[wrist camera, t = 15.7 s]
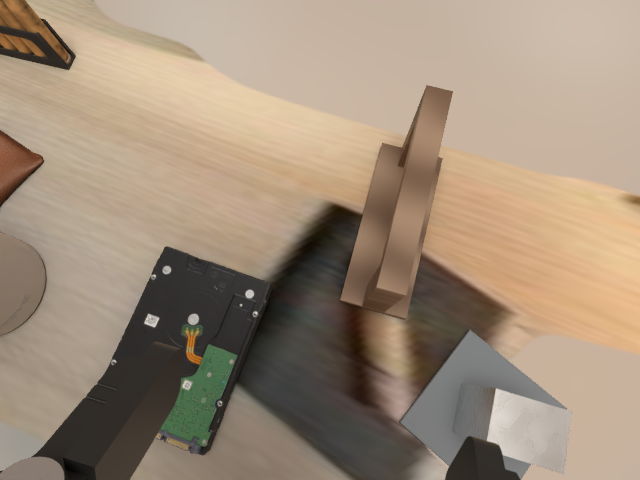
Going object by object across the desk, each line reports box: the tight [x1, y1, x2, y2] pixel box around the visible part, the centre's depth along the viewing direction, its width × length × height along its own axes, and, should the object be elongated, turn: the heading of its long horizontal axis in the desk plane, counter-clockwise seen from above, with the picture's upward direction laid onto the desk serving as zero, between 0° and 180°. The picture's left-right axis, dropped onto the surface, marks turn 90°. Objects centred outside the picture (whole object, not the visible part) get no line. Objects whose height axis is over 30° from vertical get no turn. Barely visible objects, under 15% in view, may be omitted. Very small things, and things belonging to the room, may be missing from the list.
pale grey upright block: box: [452, 383, 572, 474], centre depth 33 cm, size 4×5×8 cm
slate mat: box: [399, 330, 567, 480], centre depth 37 cm, size 10×10×1 cm
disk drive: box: [105, 247, 272, 455], centre depth 37 cm, size 10×3×15 cm
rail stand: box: [340, 86, 453, 319], centre depth 36 cm, size 16×6×11 cm, turn 164°
